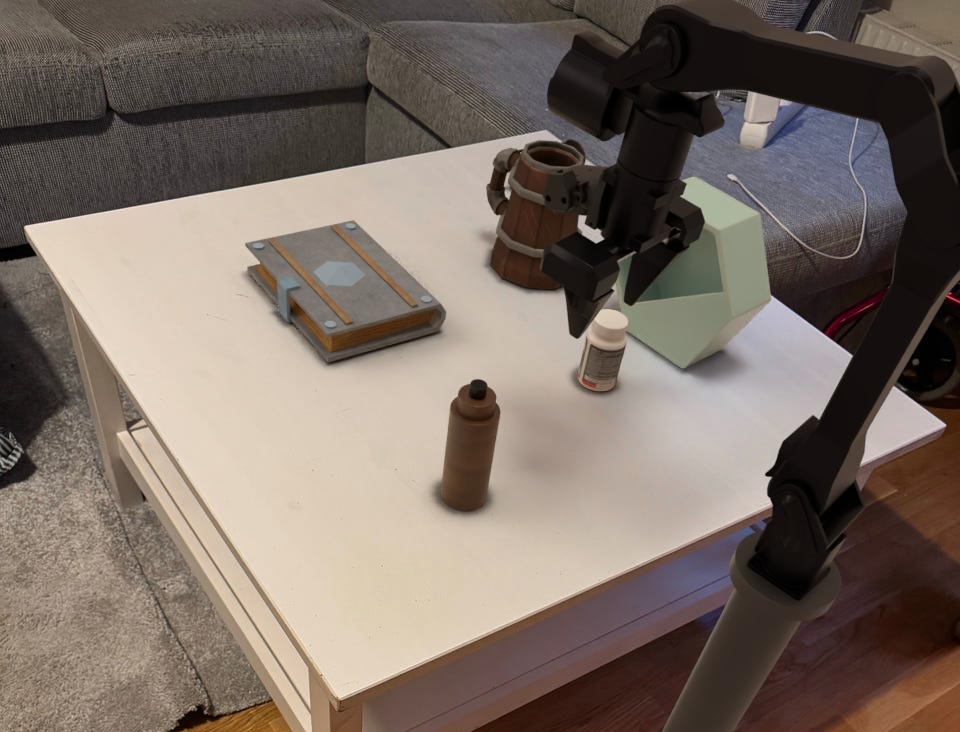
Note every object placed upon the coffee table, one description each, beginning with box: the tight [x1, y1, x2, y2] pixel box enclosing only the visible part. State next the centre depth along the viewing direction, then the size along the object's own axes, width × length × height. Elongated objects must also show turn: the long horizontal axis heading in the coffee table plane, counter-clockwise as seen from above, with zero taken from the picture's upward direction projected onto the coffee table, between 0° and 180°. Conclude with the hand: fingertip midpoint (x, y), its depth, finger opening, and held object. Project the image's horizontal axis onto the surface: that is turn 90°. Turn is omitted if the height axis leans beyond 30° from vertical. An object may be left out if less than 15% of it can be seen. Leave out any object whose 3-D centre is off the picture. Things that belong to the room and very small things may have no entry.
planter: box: [615, 175, 772, 370], centre depth 111 cm, size 17×8×21 cm
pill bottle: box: [577, 308, 628, 392], centre depth 107 cm, size 5×5×8 cm
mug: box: [485, 139, 586, 290], centre depth 120 cm, size 16×12×15 cm
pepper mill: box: [440, 378, 501, 512], centre depth 90 cm, size 5×5×14 cm
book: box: [244, 219, 447, 363], centre depth 112 cm, size 21×16×5 cm
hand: (601, 319), depth 92 cm, fingers open, 9 cm apart
